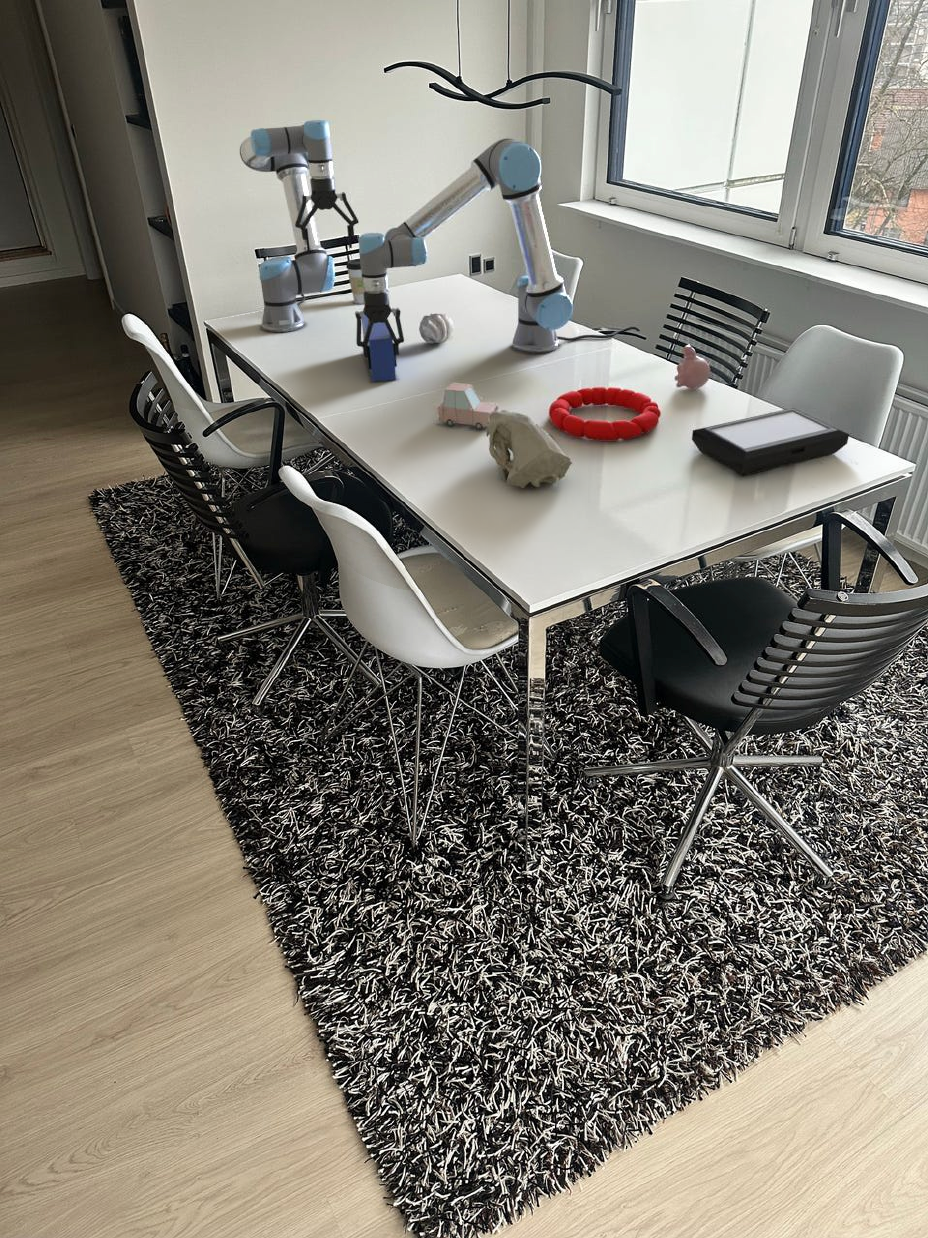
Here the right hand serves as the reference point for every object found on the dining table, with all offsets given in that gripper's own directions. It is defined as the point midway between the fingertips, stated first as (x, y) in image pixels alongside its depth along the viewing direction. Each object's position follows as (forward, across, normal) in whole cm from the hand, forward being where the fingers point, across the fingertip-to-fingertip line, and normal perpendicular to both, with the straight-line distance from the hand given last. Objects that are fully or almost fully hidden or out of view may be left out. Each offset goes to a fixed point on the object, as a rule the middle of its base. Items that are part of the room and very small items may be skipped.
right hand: (382, 366), depth 276 cm
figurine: (+4, +88, -33) cm, 94 cm away
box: (+3, 0, +12) cm, 12 cm away
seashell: (+4, +22, +30) cm, 37 cm away
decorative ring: (+4, +55, -51) cm, 76 cm away
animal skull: (+4, +26, -76) cm, 80 cm away
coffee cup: (+4, +1, +90) cm, 90 cm away
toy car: (+4, +19, -43) cm, 47 cm away
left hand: (-28, -11, +38) cm, 49 cm away
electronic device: (+4, +89, -80) cm, 120 cm away
